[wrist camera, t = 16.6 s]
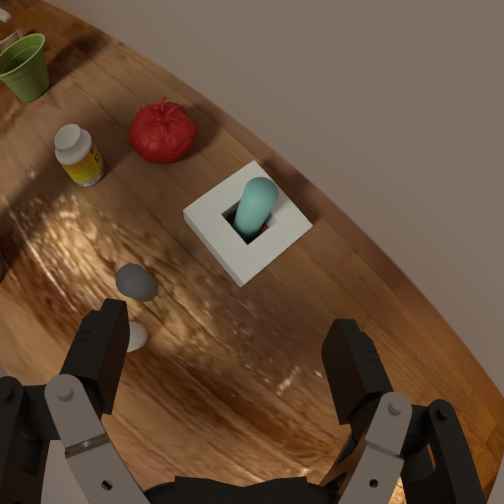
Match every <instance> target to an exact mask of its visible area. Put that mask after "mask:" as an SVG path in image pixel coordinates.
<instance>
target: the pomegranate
mask: <svg viewBox="0 0 504 504" xmlns="http://www.w3.org/2000/svg"><path fill="white" fill-rule="evenodd" d="M165 99H166V96H165V98H163V99H162V100H161V104H152V105H149V106H146V107H144V108H140V109H141V110H140V111H139V113H138V114H137V115H136V117H135V118H134V120H133V122H132V124H131V128H130V133H129V137H130V142H131V144H132V146H133V148H134V150H135V151H136V152H137V153H138V154H139V155H140V156H141V157H142V158H144V160H146V161H147V162H150V163H161V164H167V163H173V162H176V161H177V160H179V159H180V158H182V157H183V156H184V155H185V154H186V153H187V152H188V151H189V150H190V149H191V148H192V146H193V145H194V142H195V139H196V135H197V132H198V125H197V124H195V123H194V122H192V121H191V120H190V118H189V115H188V113H187V112H186V110H185V109H184V108H183V107H182V106H185V105H179V104H177V103H172V102H166V103H164V100H165Z"/></svg>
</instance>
